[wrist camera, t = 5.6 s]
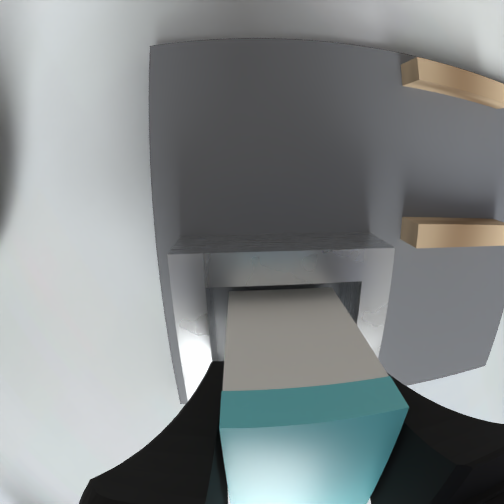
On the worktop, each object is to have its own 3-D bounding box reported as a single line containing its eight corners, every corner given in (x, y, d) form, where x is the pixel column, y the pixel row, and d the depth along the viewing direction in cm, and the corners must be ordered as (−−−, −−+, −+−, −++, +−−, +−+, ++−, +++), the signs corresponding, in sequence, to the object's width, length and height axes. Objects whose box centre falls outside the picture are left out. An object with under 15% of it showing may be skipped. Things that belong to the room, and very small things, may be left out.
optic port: (369, 231, 13) (394, 247, 11) (348, 394, 16) (361, 426, 13) (180, 236, 13) (167, 254, 11) (200, 403, 16) (195, 437, 13)
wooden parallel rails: (495, 90, 11) (513, 88, 10) (491, 237, 14) (509, 245, 12) (400, 64, 11) (417, 56, 10) (400, 239, 13) (416, 248, 12)
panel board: (510, 92, 12) (521, 91, 11) (477, 357, 17) (485, 365, 16) (155, 52, 12) (149, 46, 11) (182, 392, 16) (180, 403, 16)
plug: (332, 286, 13) (409, 407, 6) (322, 385, 14) (362, 511, 7) (228, 290, 12) (218, 428, 6) (234, 390, 14) (233, 525, 7)
